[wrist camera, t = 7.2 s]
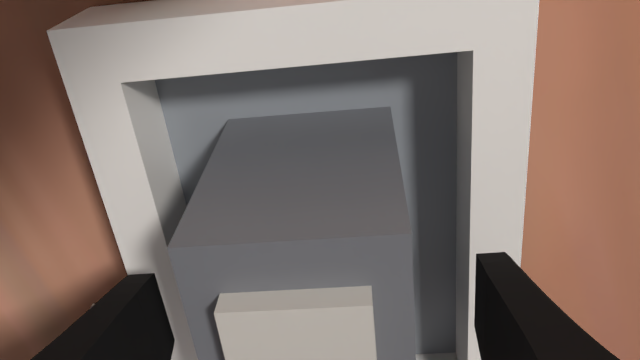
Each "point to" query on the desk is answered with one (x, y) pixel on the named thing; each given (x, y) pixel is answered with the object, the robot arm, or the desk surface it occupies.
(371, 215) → the connector plug
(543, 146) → the desk surface
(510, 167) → the tray
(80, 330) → the robot arm
